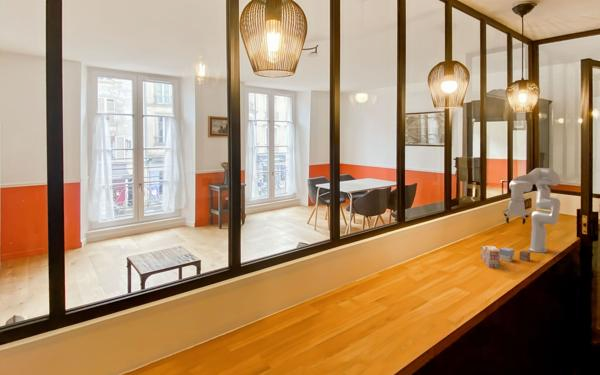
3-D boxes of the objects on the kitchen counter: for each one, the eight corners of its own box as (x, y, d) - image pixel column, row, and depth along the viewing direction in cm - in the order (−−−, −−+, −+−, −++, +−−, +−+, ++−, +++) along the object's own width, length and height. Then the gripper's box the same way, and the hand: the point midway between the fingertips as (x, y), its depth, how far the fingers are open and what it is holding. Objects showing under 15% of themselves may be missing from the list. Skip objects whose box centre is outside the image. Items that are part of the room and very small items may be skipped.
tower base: (503, 257, 281) (504, 252, 280) (513, 260, 275) (513, 254, 274) (498, 259, 277) (499, 254, 276) (508, 262, 271) (509, 256, 270)
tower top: (504, 252, 280) (504, 247, 280) (514, 254, 274) (514, 249, 274) (499, 254, 276) (499, 248, 276) (509, 256, 270) (509, 251, 270)
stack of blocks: (480, 258, 280) (481, 242, 278) (490, 258, 278) (490, 242, 277) (489, 268, 259) (490, 250, 257) (499, 268, 258) (500, 250, 256)
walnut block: (522, 258, 278) (523, 250, 278) (529, 260, 274) (530, 252, 274) (519, 259, 276) (519, 251, 275) (526, 261, 272) (527, 253, 271)
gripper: (530, 199, 267) (528, 223, 269) (502, 198, 274) (501, 221, 276) (532, 201, 260) (530, 225, 262) (503, 199, 267) (502, 223, 269)
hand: (515, 223), depth 269 cm, fingers open, 9 cm apart
